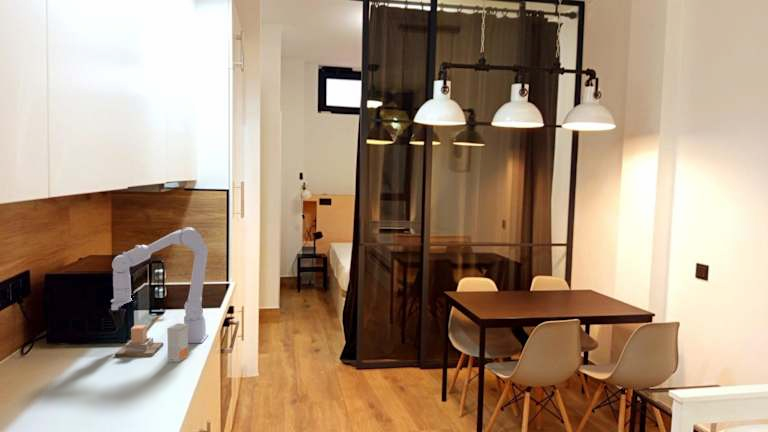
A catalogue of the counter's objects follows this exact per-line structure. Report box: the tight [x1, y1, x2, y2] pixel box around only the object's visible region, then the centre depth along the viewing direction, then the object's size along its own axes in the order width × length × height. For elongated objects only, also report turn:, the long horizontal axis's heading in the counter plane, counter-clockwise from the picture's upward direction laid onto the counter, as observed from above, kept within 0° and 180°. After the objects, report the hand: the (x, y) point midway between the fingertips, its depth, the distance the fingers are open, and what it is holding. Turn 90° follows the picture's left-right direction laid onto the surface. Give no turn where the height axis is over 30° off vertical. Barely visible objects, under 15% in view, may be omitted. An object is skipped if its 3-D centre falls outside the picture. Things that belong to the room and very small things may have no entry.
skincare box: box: [166, 322, 189, 363], centre depth 180 cm, size 6×4×12 cm
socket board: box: [114, 337, 164, 358], centre depth 188 cm, size 11×13×4 cm
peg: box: [130, 324, 148, 344], centre depth 188 cm, size 4×4×8 cm
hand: (123, 324), depth 190 cm, fingers open, 7 cm apart
